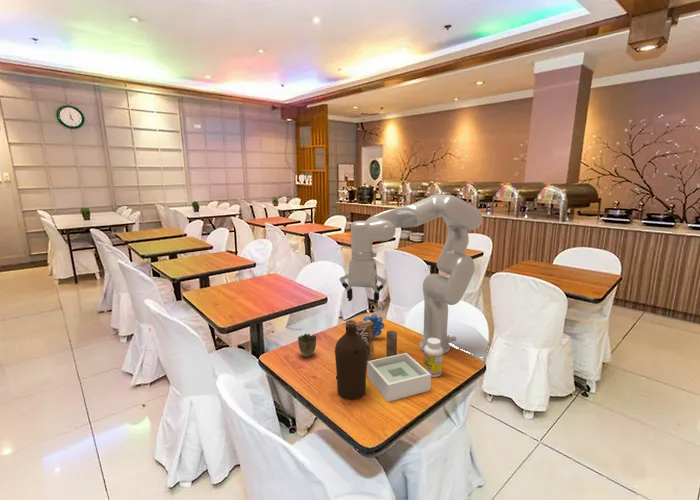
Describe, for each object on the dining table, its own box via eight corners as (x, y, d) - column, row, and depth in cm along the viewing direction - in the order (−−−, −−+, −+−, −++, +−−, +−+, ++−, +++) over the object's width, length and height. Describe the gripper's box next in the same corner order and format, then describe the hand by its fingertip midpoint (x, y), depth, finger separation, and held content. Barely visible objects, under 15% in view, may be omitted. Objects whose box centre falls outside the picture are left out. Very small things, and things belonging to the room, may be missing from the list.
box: (406, 367, 135) (406, 352, 134) (430, 390, 121) (431, 374, 119) (367, 376, 129) (367, 361, 128) (388, 401, 115) (388, 385, 114)
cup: (295, 358, 143) (294, 339, 141) (304, 350, 149) (303, 332, 148) (311, 361, 140) (311, 342, 138) (320, 353, 147) (319, 335, 145)
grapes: (382, 334, 163) (383, 310, 160) (385, 341, 156) (385, 315, 154) (357, 335, 162) (357, 310, 160) (358, 342, 155) (358, 316, 153)
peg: (393, 358, 142) (393, 329, 140) (398, 362, 138) (399, 334, 136) (384, 360, 141) (384, 331, 138) (389, 364, 137) (389, 335, 135)
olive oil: (373, 390, 121) (373, 321, 116) (353, 405, 113) (352, 332, 108) (349, 379, 128) (349, 313, 123) (329, 392, 120) (327, 323, 115)
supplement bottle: (419, 370, 133) (420, 338, 130) (434, 366, 136) (435, 335, 133) (430, 379, 127) (431, 346, 124) (445, 375, 130) (447, 342, 127)
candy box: (369, 354, 145) (369, 319, 142) (374, 359, 141) (374, 323, 138) (349, 359, 141) (348, 323, 138) (354, 364, 138) (353, 327, 134)
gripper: (387, 254, 129) (388, 299, 132) (342, 252, 134) (343, 296, 137) (383, 259, 122) (384, 306, 125) (335, 257, 127) (337, 302, 130)
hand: (363, 301), depth 131 cm, fingers open, 9 cm apart
